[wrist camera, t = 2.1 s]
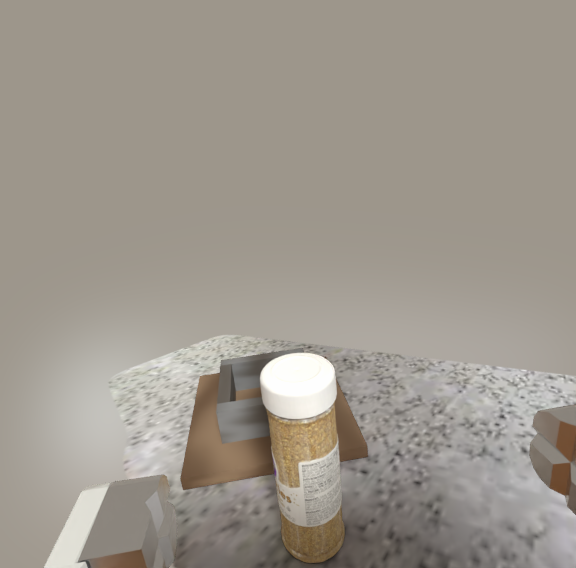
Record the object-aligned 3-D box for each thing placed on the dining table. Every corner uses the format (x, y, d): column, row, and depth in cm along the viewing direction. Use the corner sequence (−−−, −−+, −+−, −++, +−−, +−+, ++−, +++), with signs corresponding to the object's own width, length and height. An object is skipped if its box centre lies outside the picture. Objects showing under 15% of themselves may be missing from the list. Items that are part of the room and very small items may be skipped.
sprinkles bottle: (273, 520, 27) (250, 361, 23) (328, 497, 29) (315, 343, 25) (296, 580, 23) (272, 400, 19) (358, 550, 25) (349, 376, 21)
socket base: (326, 365, 48) (324, 332, 46) (367, 456, 32) (365, 411, 31) (201, 384, 46) (194, 351, 45) (183, 489, 31) (172, 444, 29)
